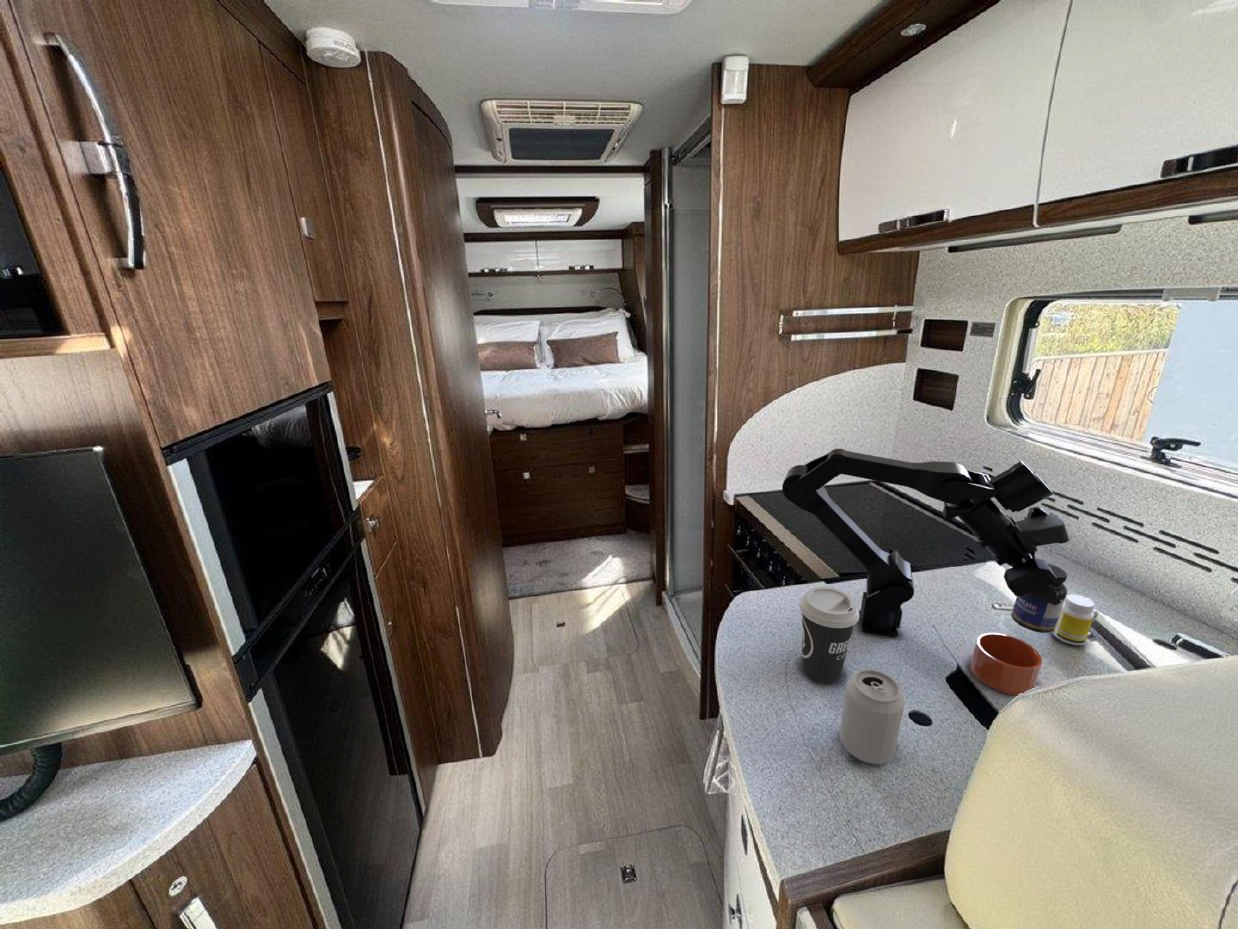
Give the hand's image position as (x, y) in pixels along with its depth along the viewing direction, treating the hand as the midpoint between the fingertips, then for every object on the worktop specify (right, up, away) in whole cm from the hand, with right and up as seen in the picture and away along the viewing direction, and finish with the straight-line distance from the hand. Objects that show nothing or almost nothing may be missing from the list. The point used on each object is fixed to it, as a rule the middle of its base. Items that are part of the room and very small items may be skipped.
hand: (1052, 593), depth 86 cm
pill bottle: (-1, -6, +3) cm, 7 cm away
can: (-37, -20, -11) cm, 44 cm away
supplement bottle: (+12, -11, +10) cm, 19 cm away
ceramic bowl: (-8, -15, +1) cm, 17 cm away
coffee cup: (-38, -15, +4) cm, 41 cm away
